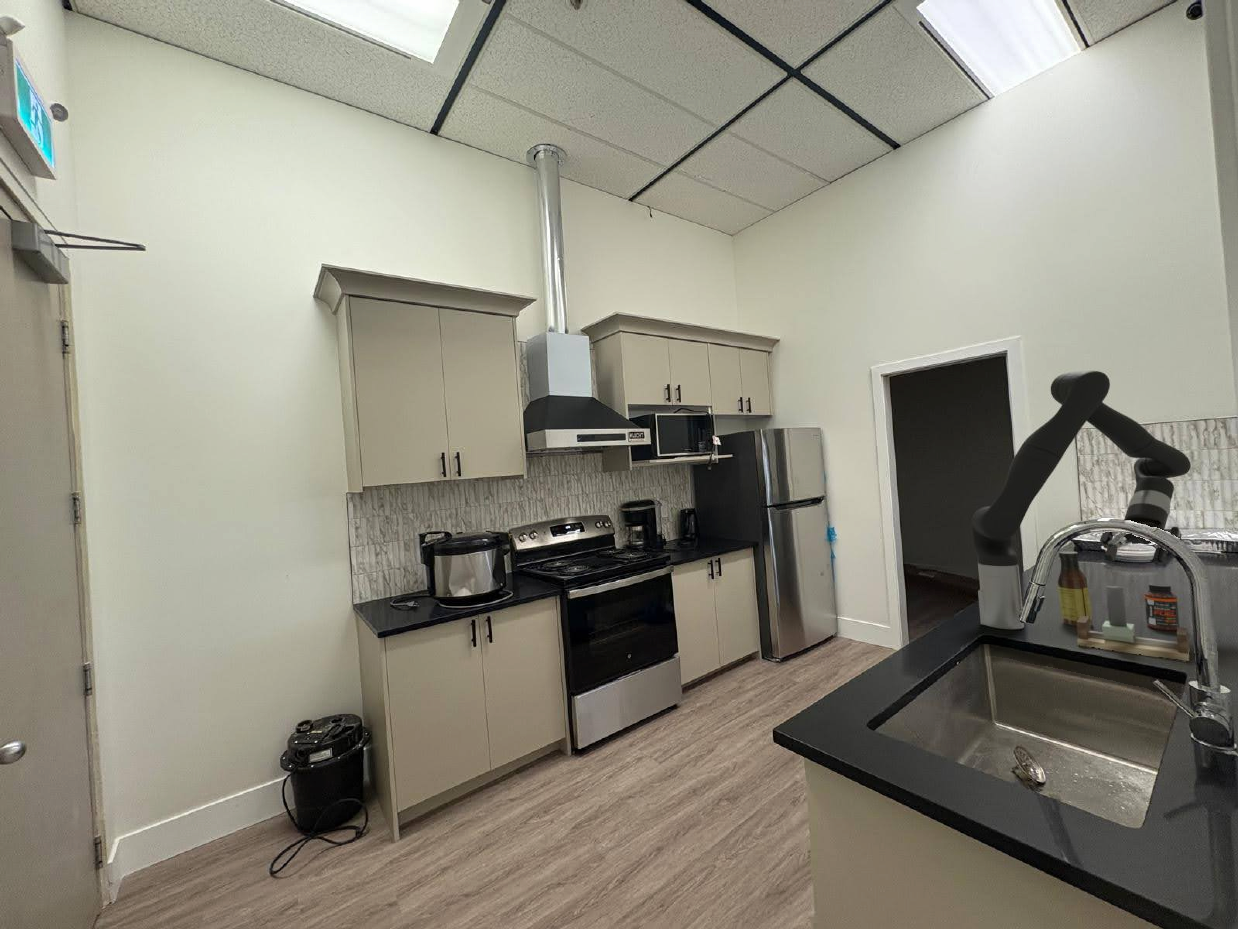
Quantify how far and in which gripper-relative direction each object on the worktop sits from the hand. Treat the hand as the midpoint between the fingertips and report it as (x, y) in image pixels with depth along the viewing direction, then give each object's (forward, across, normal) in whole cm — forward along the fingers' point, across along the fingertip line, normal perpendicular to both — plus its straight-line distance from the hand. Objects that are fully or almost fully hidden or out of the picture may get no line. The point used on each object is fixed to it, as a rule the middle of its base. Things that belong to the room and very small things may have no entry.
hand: (1133, 560), depth 128 cm
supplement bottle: (+4, 0, +24) cm, 24 cm away
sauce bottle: (+12, -14, +15) cm, 24 cm away
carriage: (+20, 0, +4) cm, 21 cm away
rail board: (+21, +2, +6) cm, 22 cm away
